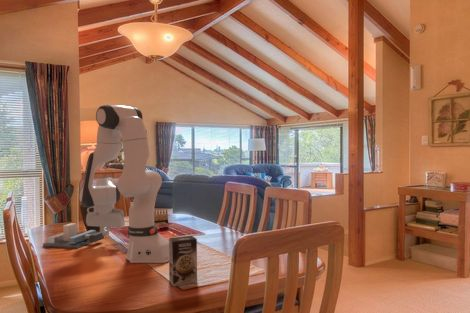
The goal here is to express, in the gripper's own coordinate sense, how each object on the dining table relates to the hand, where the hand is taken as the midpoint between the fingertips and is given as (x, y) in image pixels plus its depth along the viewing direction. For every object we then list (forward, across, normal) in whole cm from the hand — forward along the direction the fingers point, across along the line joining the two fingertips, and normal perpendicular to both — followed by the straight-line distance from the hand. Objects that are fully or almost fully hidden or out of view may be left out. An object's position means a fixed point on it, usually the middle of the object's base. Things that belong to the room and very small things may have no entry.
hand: (105, 235), depth 185 cm
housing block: (+4, +21, -1) cm, 22 cm away
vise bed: (+5, +20, -1) cm, 20 cm away
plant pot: (+6, +25, -27) cm, 37 cm away
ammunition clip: (+5, -12, -39) cm, 41 cm away
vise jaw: (+3, +10, -1) cm, 10 cm away
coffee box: (+4, -58, +42) cm, 72 cm away
